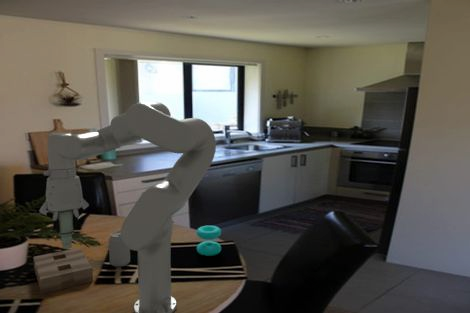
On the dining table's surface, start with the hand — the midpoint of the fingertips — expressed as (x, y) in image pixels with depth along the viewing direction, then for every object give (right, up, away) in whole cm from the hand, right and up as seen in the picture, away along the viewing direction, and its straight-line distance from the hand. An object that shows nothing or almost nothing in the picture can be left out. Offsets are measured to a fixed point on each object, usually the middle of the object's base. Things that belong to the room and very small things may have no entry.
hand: (66, 229), depth 122 cm
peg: (0, -6, +1) cm, 6 cm away
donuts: (+43, -16, +37) cm, 58 cm away
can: (+10, -18, +25) cm, 32 cm away
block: (-8, -19, +15) cm, 26 cm away
